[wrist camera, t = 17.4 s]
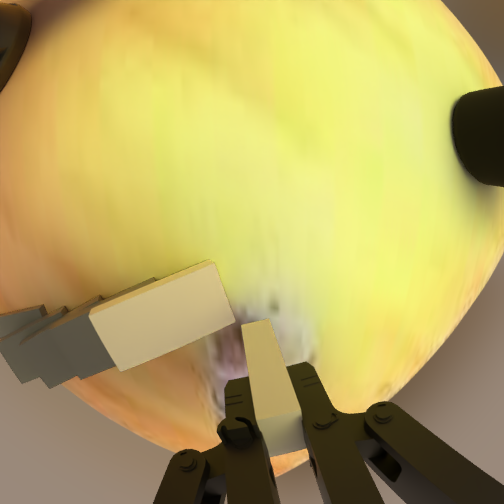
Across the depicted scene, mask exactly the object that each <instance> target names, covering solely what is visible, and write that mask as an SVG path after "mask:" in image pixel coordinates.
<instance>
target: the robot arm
mask: <svg viewBox="0 0 504 504" xmlns="http://www.w3.org/2000/svg"><path fill="white" fill-rule="evenodd" d="M30 29H31V15H30V13H29V12H28V11H27V10H26V9H24V8H23V7H22V6H20V5H18V4H7V3H1V2H0V91H1V90H2V88H3V87H4V85H5V83H6V82H7V80H8V79H9V77H10V75H11V73H12V72H13V70H14V68H15V66H16V64H17V62H18V60H19V58H20V56H21V54H22V52H23V50H24V47H25V45H26V42H27V40H28V37H29V33H30ZM241 328H242V335H243V341H244V348H245V354H246V361H247V367H248V374H249V376H248V377H244V378H239V379H234V380H229V381H228V383H227V385H226V387H225V389H224V393H225V413H226V418H225V419H224V420H222V421H221V422H220V424H219V425H218V428H217V433H218V435H219V437H220V439H221V440H222V442H221V443H220V444H219V445H218V446H216V447H214V448H212V449H209V450H207V451H204V452H201V453H200V452H199V451H197V450H194V449H185V450H182V451H179V452H178V453H176V454H175V455H173V457H172V459H171V460H170V463H169V465H168V467H167V470H166V472H165V475H164V477H163V480H162V482H161V485H160V487H159V489H158V492H157V494H156V497H155V500H154V502H153V504H224V501H225V497H226V493H227V502H228V504H280V499H279V495H278V491H277V486H276V481H275V477H274V472H273V468H272V465H271V462H270V457H273V456H277V455H282V454H286V453H290V452H294V451H298V450H302V449H306V448H307V450H308V453H309V459H310V466H311V467H312V469H313V472H314V475H315V478H316V480H317V484H318V486H319V490H320V493H321V495H322V499H323V502H324V504H385V503H384V501H383V500H382V497H381V495H380V493H379V491H378V489H377V487H376V485H375V483H374V481H373V479H372V477H371V475H370V472H369V470H368V468H367V466H366V465H365V462H366V463H367V464H368V465H369V466H370V467H371V468H372V470H373V471H374V472H375V473H376V474H377V475H378V476H379V477H380V478H381V479H382V480H383V481H384V482H385V483H386V484H387V485H388V486H389V487H390V488H391V489H392V490H393V491H394V492H395V493H396V494H397V495H398V496H399V497H400V498H401V499H402V500H403V501H404V502H405V503H407V504H504V485H502V484H501V483H499V482H498V481H496V480H495V479H494V478H492V477H491V476H490V475H488V474H487V473H485V472H484V471H483V470H481V469H480V468H478V467H477V466H476V465H474V464H473V463H471V462H470V461H469V460H467V459H466V458H465V457H464V456H462V455H461V454H459V453H458V452H457V451H455V450H454V449H453V448H451V447H450V446H449V445H447V444H446V443H445V442H444V441H442V440H441V439H440V438H438V437H437V436H436V435H434V434H433V433H432V432H431V431H429V430H428V429H427V428H425V427H424V426H423V425H421V424H420V423H419V422H418V421H416V420H415V419H414V418H412V417H411V416H410V415H409V414H407V413H406V412H405V411H403V410H402V409H401V408H400V407H398V406H397V405H396V404H394V403H392V402H387V401H383V402H378V403H375V404H373V405H371V406H370V407H369V408H368V409H367V411H366V412H364V413H355V414H347V413H342V412H340V411H338V410H336V409H335V408H334V407H333V405H332V403H331V401H330V399H329V397H328V395H327V393H326V391H325V389H324V387H323V385H322V383H321V381H320V379H319V377H318V375H317V373H316V371H315V369H314V367H313V366H312V365H310V364H309V363H307V362H302V363H299V364H295V365H291V366H288V367H286V366H285V363H284V360H283V357H282V354H281V351H280V349H279V346H278V343H277V340H276V337H275V334H274V331H273V328H272V326H271V323H270V320H269V319H265V320H261V321H257V322H252V323H248V324H243V325H241ZM364 461H365V462H364Z"/></svg>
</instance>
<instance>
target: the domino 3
mask: <svg viewBox="0 0 504 504" xmlns="http://www.w3.org/2000/svg"><path fill="white" fill-rule="evenodd" d="M100 301H102V298H101V296H100V295H99V296H97V297H95V298H93V299H91V300H90V301H88V302H86V303H84V304H82V305H81V306H79V307H77V308H75V309H74V310H72V311H70V312H68V313H67V314H65V315H63V316H61V317H60V318H58V319H56V320H55V321H53V322H51V323H49V324H48V325H46V326H44V327H43V328H41V329H39V330H38V331H36V332H34V333H33V334H31V335H29V336H28V337H26V338H24V339H23V340H22V341H21V343H20V344H19V346H18V348H19V349H20V351H21V352H22V353H23V355H24V356H25V358H26V359H27V361H28V362H29V363H30V365H31V366H32V367H33V369H34V370H35V371H36V373H37V374H38V375H39V377H40V378H41V379H42V380H43V382H45V384H46V385H47V386H48V388H50V389H51V388H53V387H54V386H57V385H59V384H61V383H63V382H65V381H67V380H69V379H71V378H73V377H75V376H77V374H76V372H75V371H74V370H73V368H72V367H71V365H70V364H69V362H68V361H67V359H66V358H65V356H64V354H63V353H62V351H61V350H60V348H59V346H58V345H57V343H56V341H55V340H54V338H53V336H52V335H51V333H50V331H49V329H50V328H51V326H52V325H53V323H54V322H56V321H58V320H61V319H63V318H65V317H67V316H69V315H71V314H74V313H76V312H78V311H80V310H82V309H84V308H87V307H89V306H91V305H93V304H95V303H98V302H100Z"/></svg>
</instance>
